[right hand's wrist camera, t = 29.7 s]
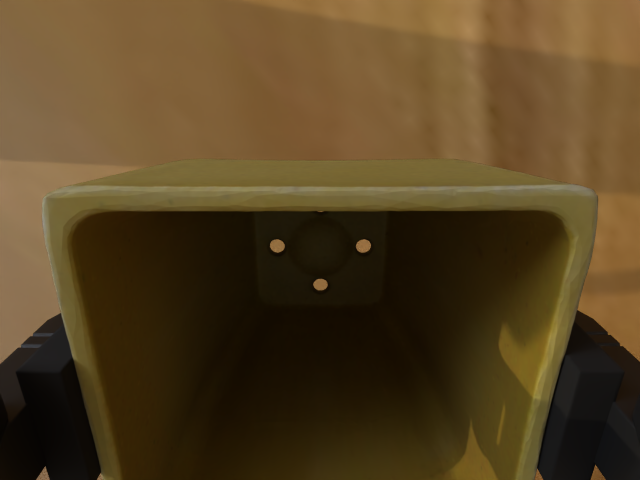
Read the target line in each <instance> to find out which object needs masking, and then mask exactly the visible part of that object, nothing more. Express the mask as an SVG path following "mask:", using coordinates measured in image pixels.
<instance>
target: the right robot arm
mask: <svg viewBox="0 0 640 480" xmlns="http://www.w3.org/2000/svg"><path fill="white" fill-rule="evenodd" d="M595 464H596V466H597V467H598V469H599V470H600V472H601V473H602V475H603V476H604V477H605V479H606V480H640V362H639V361H638V360H637V359H636V358H635V357H634V356H633V355H632V354H631V353H630V352H629V351H627V350H626V349H625V348H624V347H623V346H620V343H619V342H618V341H617V340H616V339H614V338H613V337H612V336H611V335H608V332H607V331H606V330H605V329H604V328H603V327H601V326H600V325H599V324H598V323H597V322H596V321H595V320H594V319H592V318H591V317H589V316H587V315H585V314H583V313H581V312H580V311H578V310H577V312H576V316H575V320H574V323H573V326H572V330H571V334H570V338H569V341H568V345H567V348H566V352H565V355H564V358H563V361H562V364H561V368H560V372H559V376H558V379H557V382H556V386H555V390H554V393H553V397H552V401H551V405H550V409H549V413H548V417H547V422H546V426H545V430H544V436H543V440H542V445H541V450H540V455H539V461H538V466H537V469H538V470H539V472H540V474H541V476H542V478H543V480H590V479H591V476H592V473H593V470H594V467H595ZM45 466H46V469H47V472H48V475H49V478H50V480H97V478H98V476H99V475H100V473H101V469H100V464H99V460H98V456H97V452H96V447H95V443H94V439H93V435H92V431H91V428H90V424H89V420H88V416H87V412H86V409H85V406H84V402H83V398H82V393H81V389H80V384H79V380H78V376H77V372H76V368H75V364H74V360H73V357H72V353H71V348H70V344H69V341H68V338H67V334H66V331H65V327H64V323H63V319H62V315H61V313H60V314H58V315H56V316H55V317H53V318H51V319H49V320H47V321H46V322H45V323H44V324H43V325H42V326H41V327H40V328H39V329H38V330H37V331H36V332H34V333H33V336H30V337H29V338H28V339H27V340H26V341H25V342H24V343H23V344H22V345H21V348H17V349H16V350H15V351H14V352H13V353H12V354H11V355H10V356H9V357H8V358H7V359H5V360H4V361H3V362H2V363H1V364H0V480H36V479H37V477H38V476H39V474H40V473H41V472H42V470H43V469H44V467H45Z"/></svg>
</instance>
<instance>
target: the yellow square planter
mask: <svg viewBox="0 0 640 480" xmlns="http://www.w3.org/2000/svg"><path fill="white" fill-rule="evenodd" d="M318 211H323V212H318ZM597 212H598V196H597V194H596V193H595V191H594V190H593V189H590V188H586V187H583V186H580V185H576V184H570V183H565V182H560V181H555V180H551V179H546V178H542V177H538V176H534V175H529V174H525V173H521V172H516V171H512V170H507V169H502V168H498V167H493V166H488V165H484V164H479V163H474V162H469V161H463V160H457V159H404V160H231V159H187V160H180V161H174V162H169V163H165V164H161V165H156V166H152V167H147V168H142V169H138V170H133V171H129V172H125V173H121V174H117V175H112V176H108V177H104V178H100V179H96V180H92V181H87V182H83V183H79V184H74V185H70V186H66V187H62V188H59V189H56V190H54V191H52V192H49V193H47V195H46V196H45V197H44V198H43V205H42V222H43V231H44V238H45V245H46V249H47V252H48V256H49V260H50V264H51V269H52V275H53V281H54V285H55V288H56V292H57V297H58V302H59V307H60V311H61V315H62V319H63V323H64V327H65V331H66V334H67V338H68V341H69V344H70V348H71V353H72V357H73V360H74V364H75V368H76V372H77V376H78V380H79V384H80V389H81V393H82V398H83V402H84V406H85V409H86V412H87V416H88V420H89V424H90V428H91V431H92V435H93V439H94V443H95V447H96V452H97V456H98V460H99V464H100V469H101V475H102V478H103V480H534V479H535V475H536V471H537V466H538V461H539V455H540V450H541V445H542V440H543V436H544V430H545V426H546V422H547V417H548V413H549V409H550V405H551V401H552V397H553V393H554V390H555V386H556V382H557V379H558V376H559V372H560V368H561V364H562V361H563V358H564V355H565V352H566V348H567V345H568V341H569V338H570V334H571V330H572V326H573V323H574V320H575V316H576V312H577V308H578V304H579V300H580V296H581V293H582V289H583V285H584V281H585V278H586V275H587V272H588V269H589V265H590V261H591V257H592V252H593V246H594V240H595V234H596V225H597ZM275 239H279V240H282V241H283V242H284V244H285V248H284V250H283V251H282V252H279V253H276V252H274V251H272V250H271V248H270V243H271V241H273V240H275ZM362 239H366V240H368V241H369V242H370V243H371V248H370V250H369V251H367V252H365V253H361V252H359V251H357V249H356V244H357V242H358V241H359V240H362ZM317 279H324V280H326V281H327V283H328V287H327V288H326V289H325V290H316V289H315V288H314V286H313V283H314V281H315V280H317Z"/></svg>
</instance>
